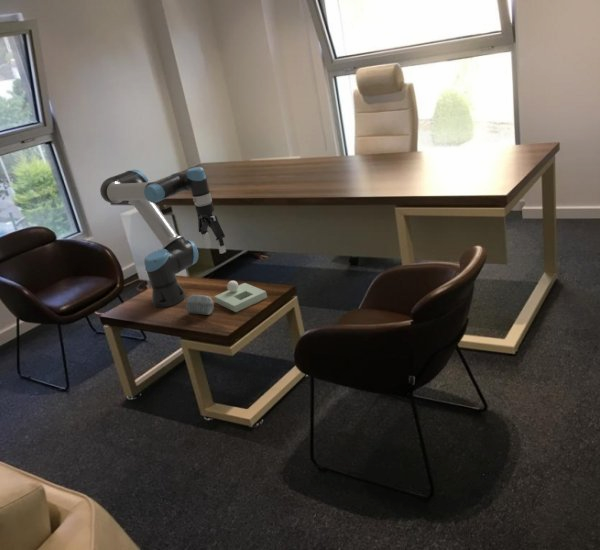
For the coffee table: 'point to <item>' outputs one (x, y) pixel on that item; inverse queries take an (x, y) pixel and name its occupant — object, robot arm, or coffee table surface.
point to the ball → (232, 286)
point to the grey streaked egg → (199, 304)
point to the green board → (240, 297)
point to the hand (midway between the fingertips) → (215, 250)
